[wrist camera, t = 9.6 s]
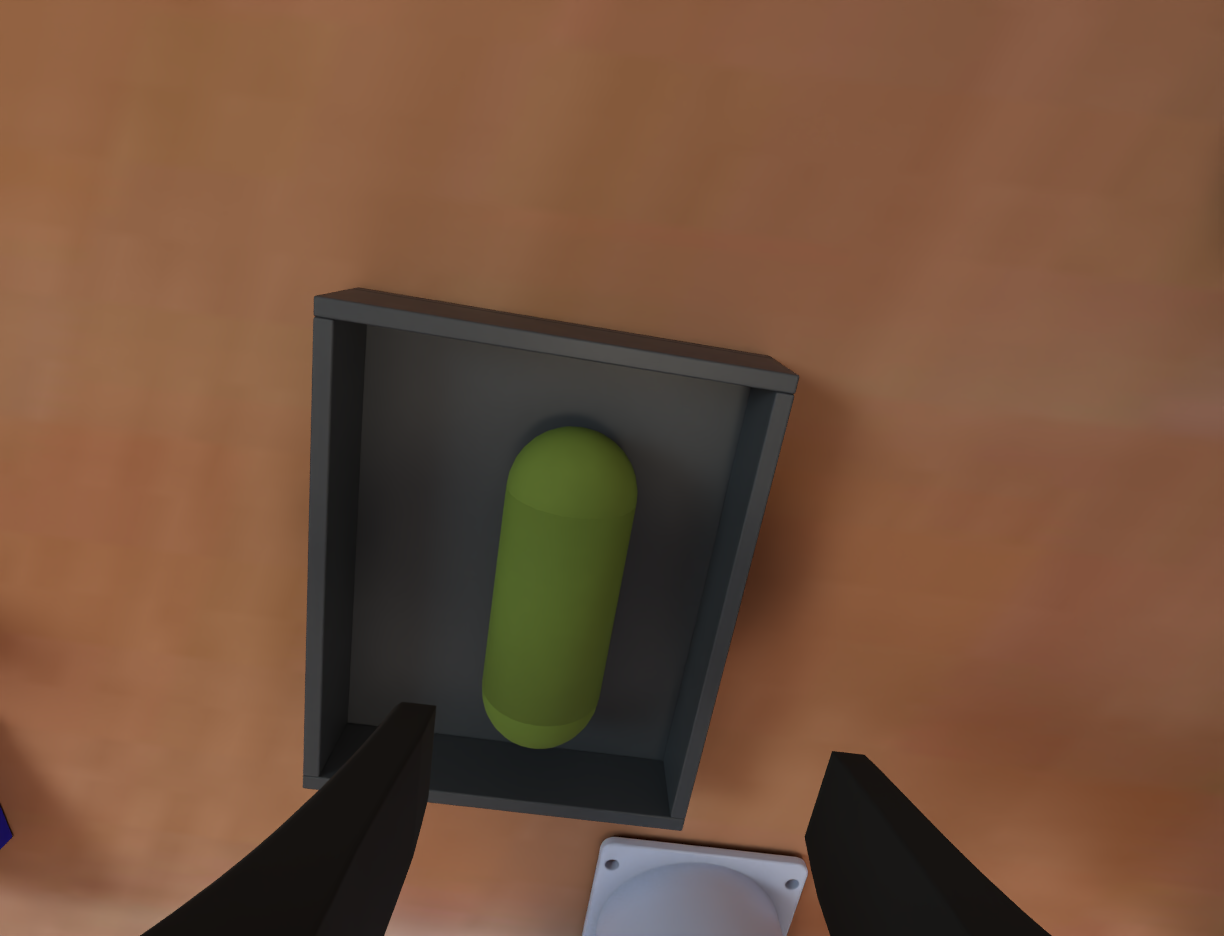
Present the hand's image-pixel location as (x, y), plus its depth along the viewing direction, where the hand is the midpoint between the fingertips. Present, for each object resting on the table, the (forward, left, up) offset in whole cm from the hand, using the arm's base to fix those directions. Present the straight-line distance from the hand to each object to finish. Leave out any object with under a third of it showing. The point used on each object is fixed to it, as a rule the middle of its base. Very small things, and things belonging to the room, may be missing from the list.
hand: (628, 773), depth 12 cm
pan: (-1, +3, -10) cm, 10 cm away
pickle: (-1, +3, -9) cm, 10 cm away
